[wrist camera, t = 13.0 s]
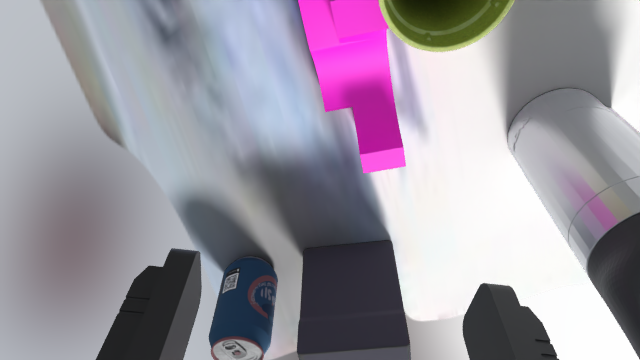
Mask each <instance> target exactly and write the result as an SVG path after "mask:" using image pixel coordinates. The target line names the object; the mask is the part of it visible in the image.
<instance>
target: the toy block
mask: <svg viewBox="0 0 640 360" xmlns="http://www.w3.org/2000/svg"><path fill="white" fill-rule="evenodd" d="M298 2H299V7H300V11H301V15H302V20H303V24H304V28H305V32H306V37H307V41H308V45H309V49H310V52H311V55H312V58H313V61H314V64H315V68H316V71H317V75H318V79H319V83H320V88H321V92H322V97H323V102H324V107H325V112H328V111H333V110H338V109H344V108H349V107H353V113H354V119H355V125H356V131H357V137H358V144H359V151H360V157H361V163H362V168H363V173H369V172H375V171H381V170H387V169H393V168H398V167H404V166H406V164H405V156H404V148H403V144H402V139H401V134H400V130H399V125H398V119H397V114H396V108H395V102H394V96H393V90H392V83H391V76H390V68H389V60H388V51H387V38H386V30H387V28H389V27H388V25H387V23H386V21H385V19H384V17H383V15H382V12H381V9H380V6H379V1H378V0H298Z"/></svg>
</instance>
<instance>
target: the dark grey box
mask: <svg viewBox="0 0 640 360" xmlns="http://www.w3.org/2000/svg"><path fill="white" fill-rule="evenodd" d="M297 353H298V357H299V360H411V353H410V340H409V334H408V328H407V323H406V318H405V312H404V308H403V302H402V296H401V290H400V285H399V279H398V273H397V267H396V262H395V256H394V250H393V244H392V242H391V241H390V240H385V241H375V242H366V243H356V244H346V245H337V246H327V247H317V248H308V249H305V250H304V254H303V273H302V292H301V310H300V320H299V325H298V342H297Z"/></svg>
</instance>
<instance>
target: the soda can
mask: <svg viewBox="0 0 640 360" xmlns="http://www.w3.org/2000/svg"><path fill="white" fill-rule="evenodd" d="M277 282H278V279H277V275H276V273H275V271H274V270H273V268H272V267H271V265H270V264H269V263H268V262H266V261H265V260H263V259H261V258H258V257H242V258H239V259H237V260H236V261H234V262H233V263H232V264H231V265H229V266H228V267H227V269H226V270H225V272H224V275H223V279H222V283H221V287H220V292H219V296H218V300H217V304H216V309H215V313H214V317H213V321H212V325H211V329H210V333H209V342H210V345H211V355H212V357H213V359H214V360H263V357H264V354H265V353H266V351H267V350H268V348H269V347H270V343H271V335H272V326H273V317H274V309H275V300H276V291H277Z"/></svg>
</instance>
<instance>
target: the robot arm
mask: <svg viewBox="0 0 640 360" xmlns="http://www.w3.org/2000/svg"><path fill="white" fill-rule="evenodd" d="M508 146H509V149H510V151H511V153H512V155H513V157H514V158H515V160H516V161H517V163H518V165H519V166H520V168H521V169H522V171H523V173H524V175H525V176H526V178H527V179H528V181H529V183H530V184H531V186H532V187H533V189H534V191H535V192H536V194H537V195H538V197H539V199H540V200H541V202H542V203H543V205H544V207H545V208H546V210H547V211H548V213H549V215H550V216H551V218H552V219H553V221H554V223H555V224H556V226H557V227H558V229H559V231H560V232H561V234H562V235H563V237H564V239H565V240H566V242H567V243H568V245H569V247H570V248H571V249H572V251H573V253H574V254H575V256H576V257H577V259H578V261H579V262H580V264H581V265H582V267H583V269H584V270H585V272H586V273H587V275H588V277H589V278H590V280H591V281H592V283H593V284H594V286H595V288H596V289H597V291H598V292H599V294H600V295H601V297H602V298H603V299H604V301H605V303H606V304H607V306H608V307H609V309H610V311H611V312H612V314H613V315H614V317H615V319H616V320H617V322H618V323H619V325H620V326H621V328H622V330H623V331H624V333H625V335H626V336H627V338H628V340H629V341H630V343H631V345H632V347H633V348H634V350H635V351H636V353H637V356H638V357H639V359H640V133H639V132H638V131H637V130H636V129H635V128H634V127H633V126H631V125H630V124H629V123H628V122H627V121H626V120H625V119H623V118H622V117H621V116H620V115H619V114H618V113H617V112H615V111H614V110H613V109H612V108H610V107H606V106H605V105H603V104H602V103H601V102H600V101H599V100H598V99H597V98H596V97H594V96H593V95H591V94H590V93H589V92H586V91H583V90H581V89H573V88H566V89H558V90H554V91H550V92H547V93H545V94H543V95H541V96H539V97H537V98H535V99H534V100H532V101H531V102H529V103H528V104H527V105H526V106H525V107H524V108H522V109H521V111H520V112H519V113H518V114H517V116H516V117H515V118H514V120H513V122H512V124H511V126H510V129H509V133H508ZM200 298H201V260H200V252H199V251H192V250H182V249H173V248H172V249H171V250H170V252H169V254H168V257H167V259H166V261H165V264H164V266H163V267H156V266H148V267H147V268H146V269H145V270H144V271H143V272H142V273H141V274H140V275H138V276H137V277H136V278H135V279H134V281H133V283H132V285H131V287H130V289H129V291H128V293H127V295H126V299H125V300H124V302H123V304H122V306H121V308H120V312H119V314H118V315H117V316H116V319H115V321H114V323H113V325H112V327H111V329H110V331H109V333H108V335H107V337H106V339H105V342H104V344H103V346H102V348H101V350H100V352H99V354H98V356H97V358H96V360H183V358H184V355H185V351H186V348H187V345H188V341H189V338H190V335H191V331H192V328H193V325H194V322H195V318H196V315H197V311H198V308H199V304H200ZM463 337H464V340H465V344H466V347H467V351H468V355H469V358H470V360H559V359H557V354H556V352H555V350H554V348H553V345H552V344H550V339H549V337H548V335H547V332H546V330H545V328H544V326H543V324H542V322H541V321H540V320H539V319H538V318H537V317H536V315H535V314H534V313H533V312H532V311H531V310H530V309H529V307H525V306H520V304H519V301H518V299H517V297H516V294H515V292H514V290H513V289H512V288H511V287H510V286H505V285H496V284H487V283H483V284H481V285H480V287H479V288H478V290H477V292H476V294H475V296H474V298H473V300H472V302H471V304H470V306H469V308H468V310H467V312H466V314H465V316H464V320H463Z"/></svg>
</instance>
